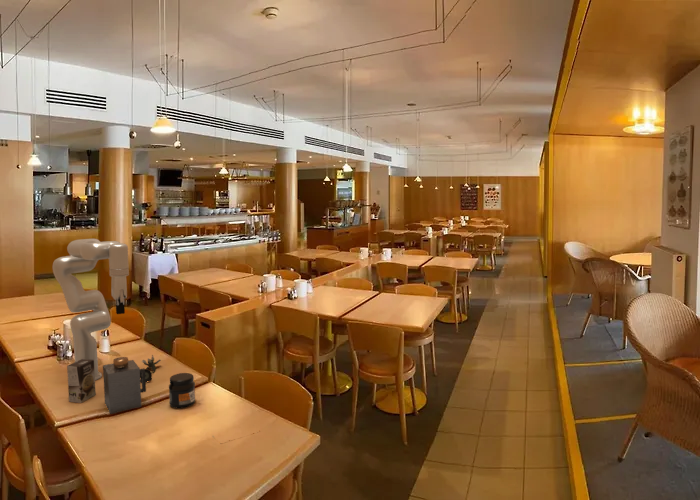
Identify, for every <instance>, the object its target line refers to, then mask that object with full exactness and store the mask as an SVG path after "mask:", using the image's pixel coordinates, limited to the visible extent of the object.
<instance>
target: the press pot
mask: <svg viewBox="0 0 700 500" xmlns="http://www.w3.org/2000/svg"><path fill="white" fill-rule="evenodd" d="M145 369H146V368H145V367H143V368H140V367H139V365H138V364H137V363H136V361H135V360H134V359H132V360H131V359H130V360H128V366H126V367H123V368H114V364H113V363H108V364H103V365H102V377H103V378H102V379H103V389H104V391H103V392H104V404H106V405H105V407H106V406H107V407H106V409H107V408H108V409H107V410H109V411H108V413H109V414H110V415H112V414H116V413H119V412H123V411H124V412H125V411H128V410H133V409H137V408H142V394H143V393H146V392H147V386H146V385H147V384H146V380H145ZM140 373H141V376H142V383H141V382H140V379H141V378H140Z"/></svg>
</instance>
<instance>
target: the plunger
mask: <svg viewBox="0 0 700 500" xmlns="http://www.w3.org/2000/svg"><path fill="white" fill-rule="evenodd" d="M112 361H113V362H112V364H114V368H123V367H126V366H128V361H129V357H127V356H119V357H116V358H114V359H113V360H112Z"/></svg>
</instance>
